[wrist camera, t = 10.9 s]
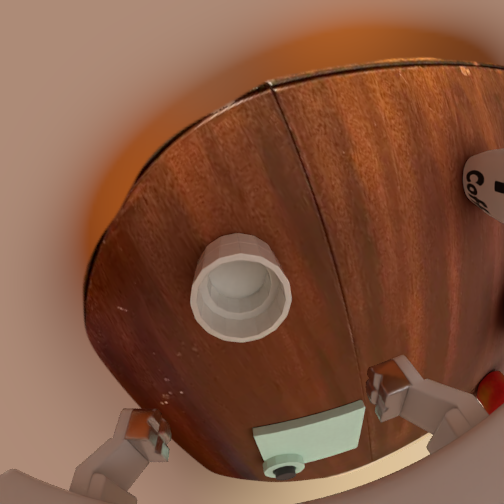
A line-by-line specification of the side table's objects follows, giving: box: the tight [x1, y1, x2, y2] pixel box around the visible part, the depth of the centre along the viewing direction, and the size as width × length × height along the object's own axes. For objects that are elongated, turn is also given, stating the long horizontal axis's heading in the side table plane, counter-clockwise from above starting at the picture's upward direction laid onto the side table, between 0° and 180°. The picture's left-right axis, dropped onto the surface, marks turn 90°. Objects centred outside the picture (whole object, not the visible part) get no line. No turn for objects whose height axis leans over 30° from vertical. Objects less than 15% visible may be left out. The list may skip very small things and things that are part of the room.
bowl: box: [190, 233, 292, 343], centre depth 19 cm, size 6×6×5 cm
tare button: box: [275, 466, 296, 480], centre depth 28 cm, size 3×3×2 cm
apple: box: [477, 371, 504, 415], centre depth 29 cm, size 9×8×12 cm
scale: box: [253, 400, 365, 478], centre depth 29 cm, size 14×12×3 cm
